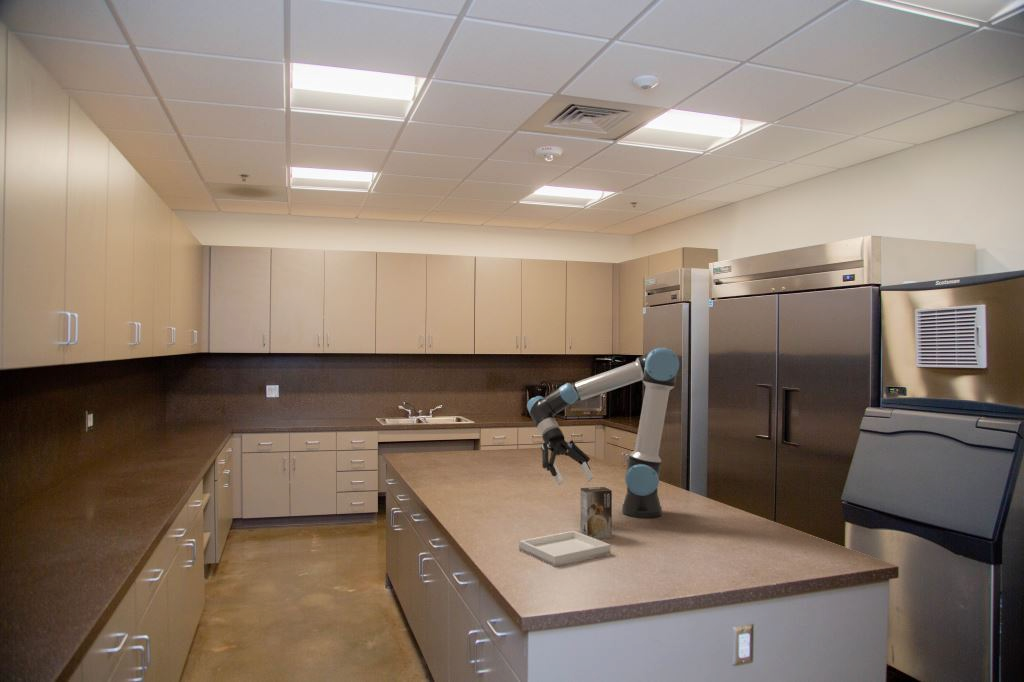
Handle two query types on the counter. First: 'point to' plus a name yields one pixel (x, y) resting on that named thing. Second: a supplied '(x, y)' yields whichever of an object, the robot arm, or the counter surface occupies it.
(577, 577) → the counter surface
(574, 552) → the white tray
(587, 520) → the coffee box
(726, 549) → the counter surface
